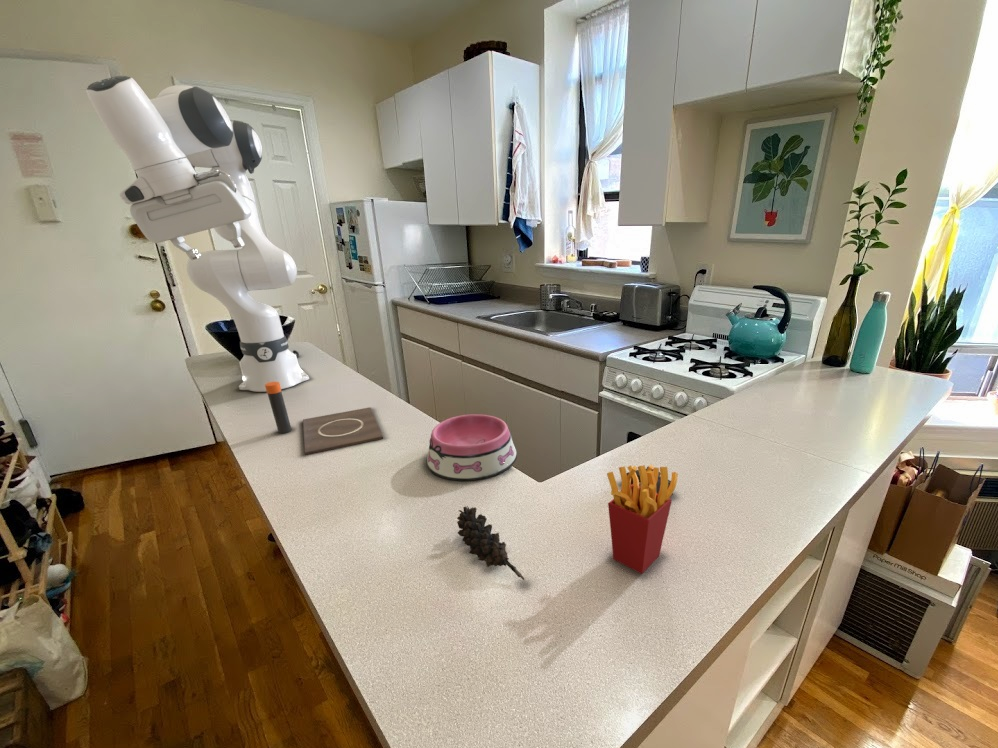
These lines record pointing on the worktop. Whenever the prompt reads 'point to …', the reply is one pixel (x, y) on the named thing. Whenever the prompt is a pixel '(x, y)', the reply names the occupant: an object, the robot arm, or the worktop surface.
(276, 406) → the marker
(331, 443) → the drawing board
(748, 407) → the worktop surface
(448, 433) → the dog bowl
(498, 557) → the pine cone
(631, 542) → the french fries
